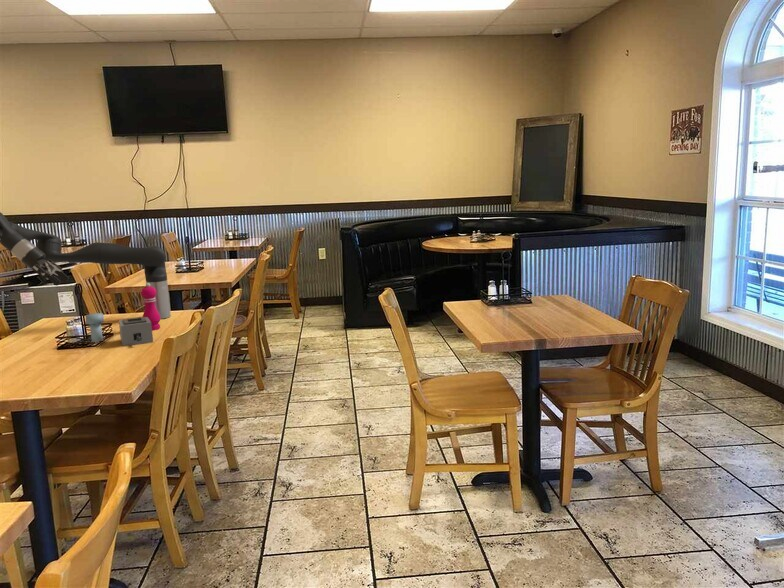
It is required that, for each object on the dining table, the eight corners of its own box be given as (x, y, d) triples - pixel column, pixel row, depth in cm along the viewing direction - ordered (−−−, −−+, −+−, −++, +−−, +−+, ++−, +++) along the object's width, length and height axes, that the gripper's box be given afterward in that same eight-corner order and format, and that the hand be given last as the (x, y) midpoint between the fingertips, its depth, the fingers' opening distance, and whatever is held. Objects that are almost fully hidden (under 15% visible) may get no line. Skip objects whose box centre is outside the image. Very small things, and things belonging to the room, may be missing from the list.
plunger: (134, 337, 249) (133, 332, 248) (139, 336, 250) (138, 331, 249) (136, 342, 241) (135, 337, 241) (141, 341, 242) (141, 336, 242)
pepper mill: (164, 326, 273) (159, 281, 270) (156, 331, 266) (151, 284, 262) (148, 326, 274) (143, 281, 270) (140, 331, 267) (135, 284, 263)
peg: (88, 342, 251) (85, 314, 249) (105, 339, 254) (102, 312, 252) (89, 345, 246) (85, 317, 244) (106, 343, 249) (103, 315, 246)
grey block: (120, 339, 253) (118, 319, 252) (149, 336, 258) (147, 315, 256) (123, 346, 244) (120, 324, 242) (153, 342, 249) (150, 320, 247)
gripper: (29, 258, 248) (64, 285, 251) (13, 263, 234) (49, 292, 237) (42, 244, 247) (76, 272, 251) (26, 248, 233) (62, 277, 237)
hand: (63, 281), depth 244 cm, fingers open, 8 cm apart
